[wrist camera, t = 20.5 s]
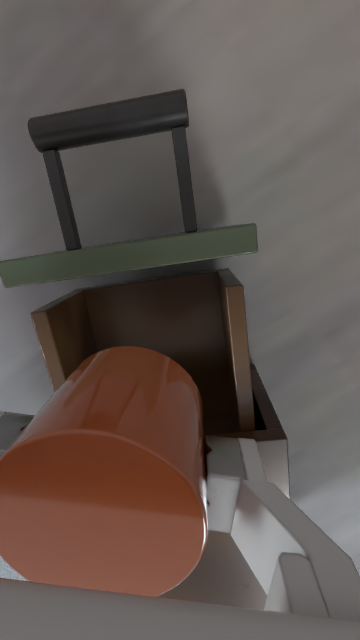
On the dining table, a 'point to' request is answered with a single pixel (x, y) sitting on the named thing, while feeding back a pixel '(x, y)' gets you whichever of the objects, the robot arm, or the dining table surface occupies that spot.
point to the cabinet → (221, 550)
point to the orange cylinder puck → (109, 479)
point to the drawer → (143, 295)
